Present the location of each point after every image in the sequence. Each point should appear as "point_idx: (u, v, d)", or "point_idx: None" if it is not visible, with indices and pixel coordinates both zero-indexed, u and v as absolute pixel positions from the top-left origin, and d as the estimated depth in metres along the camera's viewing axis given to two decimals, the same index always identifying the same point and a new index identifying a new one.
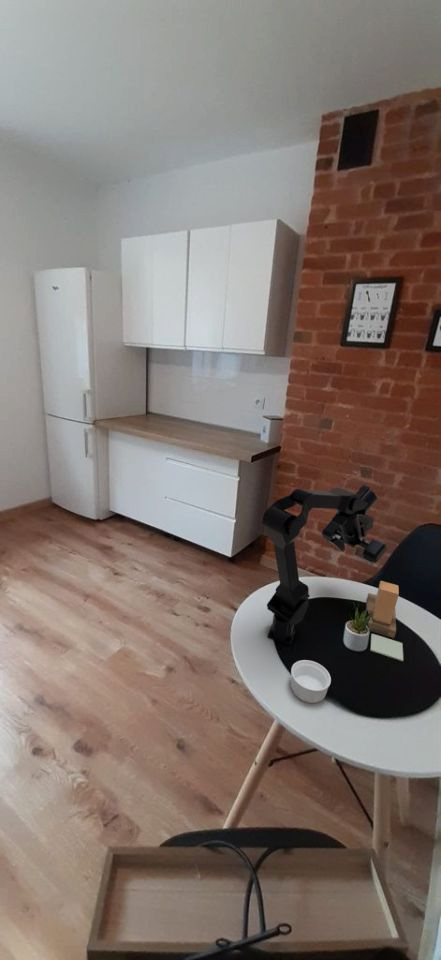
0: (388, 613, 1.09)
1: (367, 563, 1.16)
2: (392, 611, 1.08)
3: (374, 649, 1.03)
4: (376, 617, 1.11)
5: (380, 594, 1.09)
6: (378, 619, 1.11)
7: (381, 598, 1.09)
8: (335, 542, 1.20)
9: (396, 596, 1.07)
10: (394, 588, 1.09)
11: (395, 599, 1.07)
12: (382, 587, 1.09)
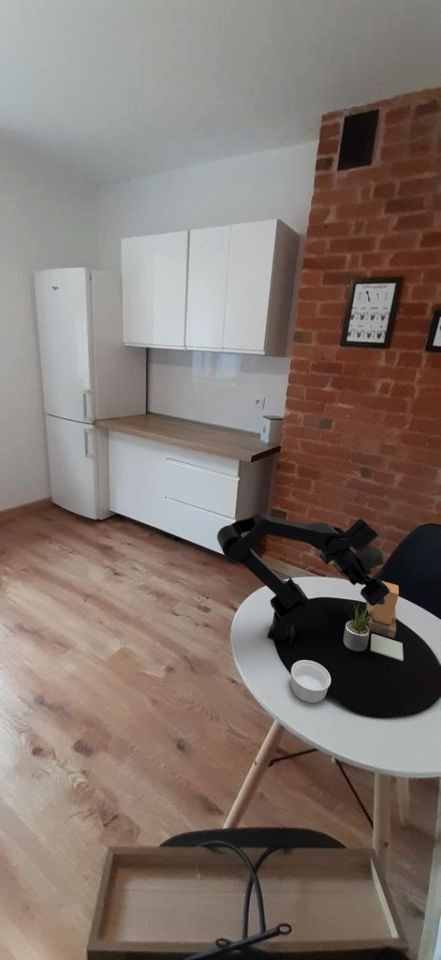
0: (388, 613, 1.09)
1: (377, 603, 1.04)
2: (392, 611, 1.08)
3: (374, 649, 1.03)
4: (376, 617, 1.11)
5: None
6: (378, 619, 1.11)
7: None
8: None
9: (396, 596, 1.07)
10: (394, 588, 1.09)
11: (395, 599, 1.07)
12: None
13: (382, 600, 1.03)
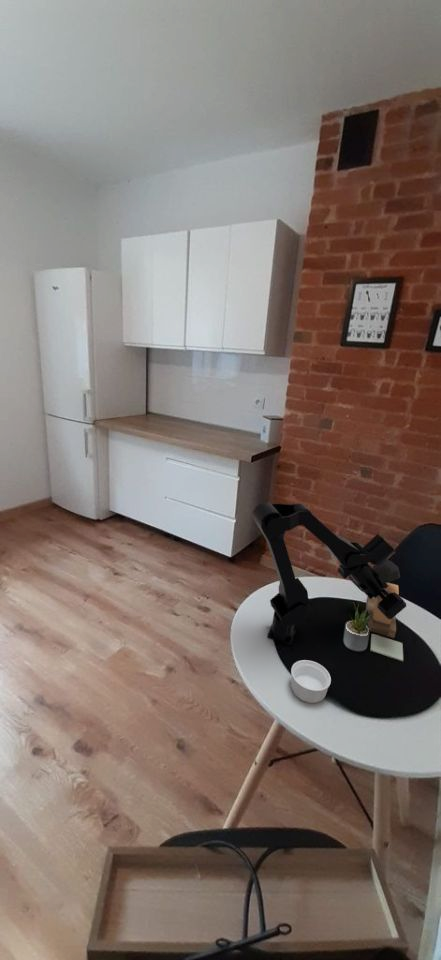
0: None
1: None
2: None
3: (374, 649, 1.03)
4: (376, 617, 1.11)
5: None
6: (378, 619, 1.11)
7: (381, 598, 1.09)
8: None
9: None
10: (394, 588, 1.09)
11: None
12: None
13: None
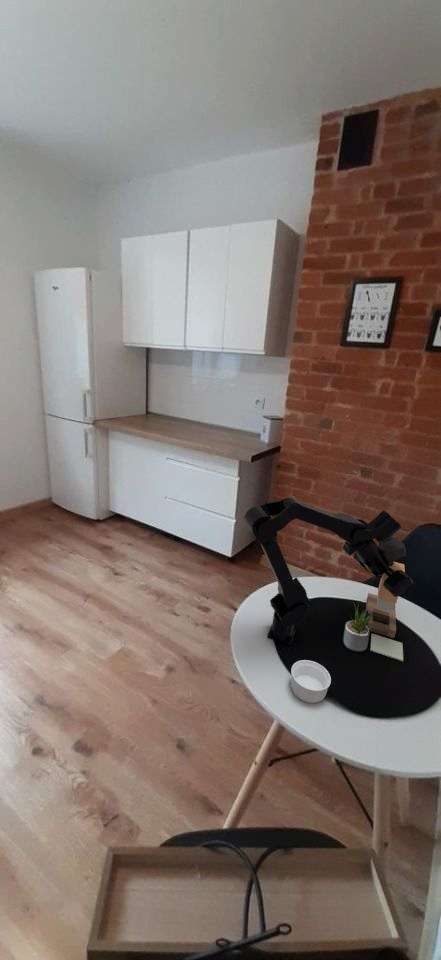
0: None
1: None
2: None
3: (374, 649, 1.03)
4: (381, 596, 1.09)
5: None
6: (383, 598, 1.09)
7: (386, 577, 1.07)
8: None
9: None
10: (400, 567, 1.07)
11: None
12: None
13: None
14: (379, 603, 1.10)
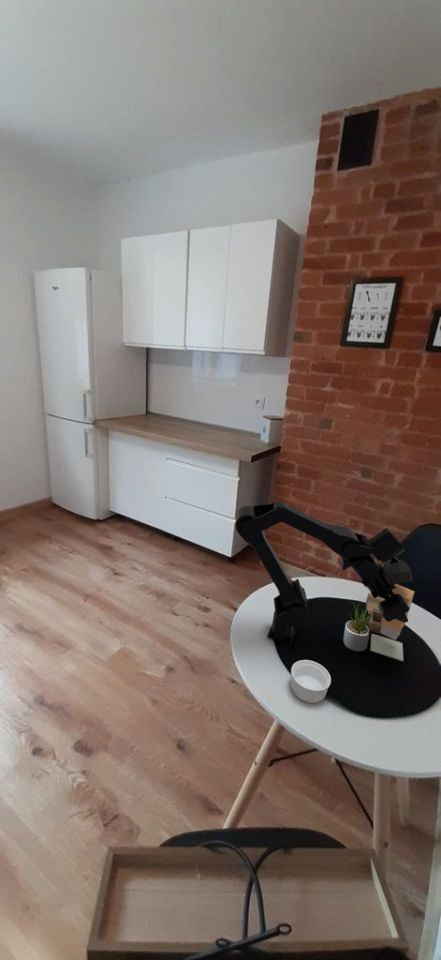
0: None
1: (398, 619, 0.98)
2: None
3: (374, 649, 1.03)
4: (384, 622, 1.01)
5: None
6: (386, 624, 1.01)
7: None
8: None
9: (406, 601, 0.97)
10: (407, 593, 0.99)
11: None
12: (393, 589, 1.00)
13: (404, 617, 0.97)
14: (382, 629, 1.02)
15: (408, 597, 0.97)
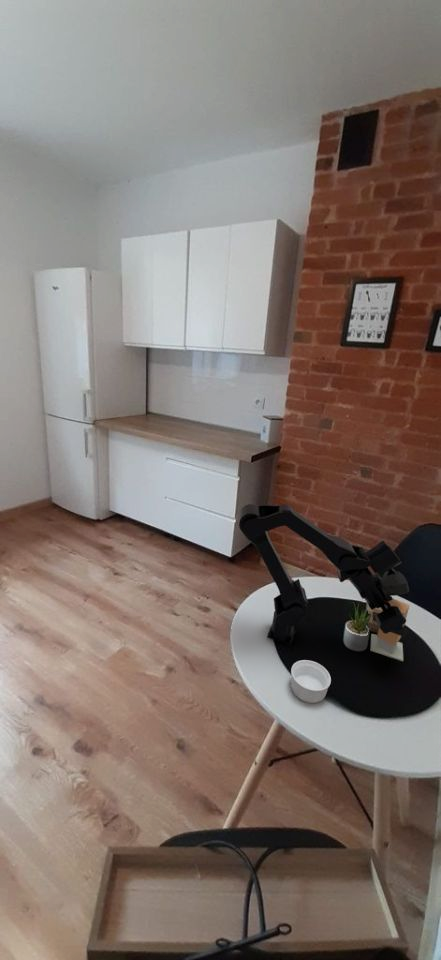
0: (394, 633, 1.00)
1: None
2: None
3: (374, 649, 1.03)
4: (381, 635, 1.03)
5: None
6: (383, 638, 1.02)
7: None
8: None
9: None
10: (402, 607, 1.00)
11: None
12: None
13: (402, 631, 0.97)
14: (379, 642, 1.04)
15: (403, 611, 0.98)
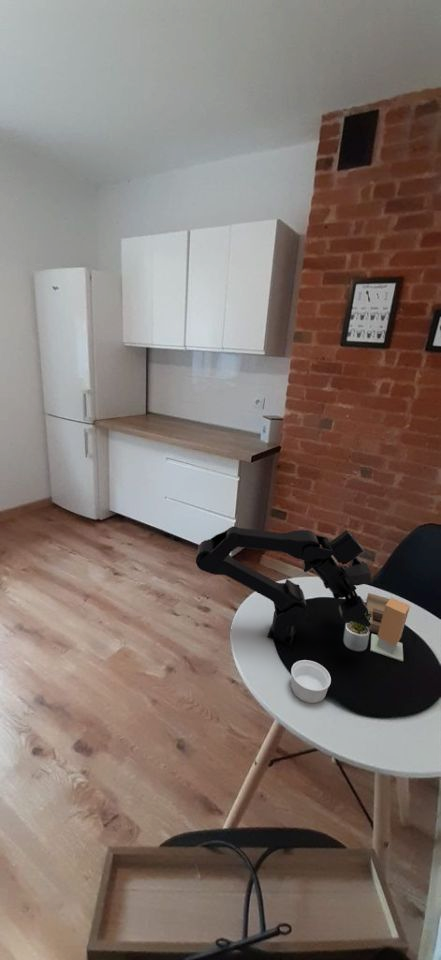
0: (394, 633, 1.00)
1: (361, 623, 0.98)
2: (398, 632, 1.00)
3: (374, 649, 1.03)
4: (381, 635, 1.03)
5: (385, 611, 1.01)
6: (383, 638, 1.02)
7: (386, 615, 1.01)
8: None
9: (402, 616, 0.98)
10: (403, 607, 1.00)
11: (401, 619, 0.98)
12: (389, 604, 1.01)
13: (366, 621, 0.97)
14: (379, 642, 1.04)
15: (404, 612, 0.98)
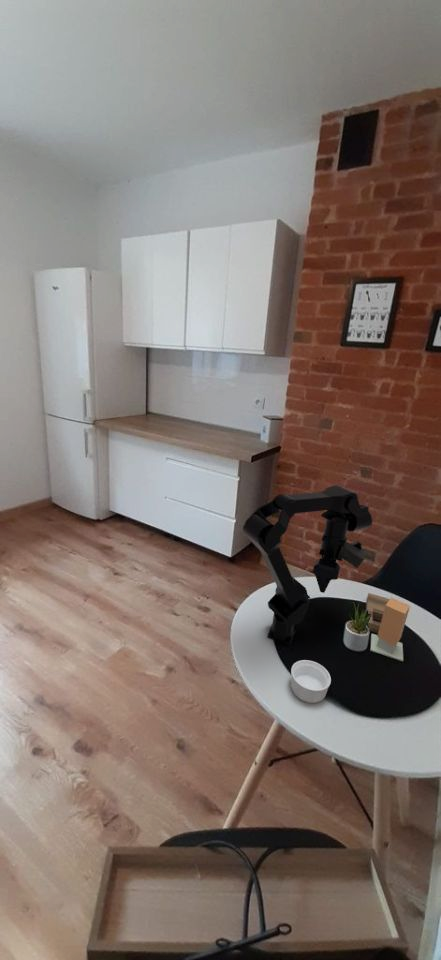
0: (394, 633, 1.00)
1: (318, 585, 1.04)
2: (398, 632, 1.00)
3: (374, 649, 1.03)
4: (381, 635, 1.03)
5: (385, 611, 1.01)
6: (383, 638, 1.02)
7: (386, 615, 1.01)
8: None
9: (402, 616, 0.98)
10: (403, 607, 1.00)
11: (401, 619, 0.98)
12: (389, 604, 1.01)
13: (324, 587, 1.03)
14: (379, 642, 1.04)
15: (404, 612, 0.98)
